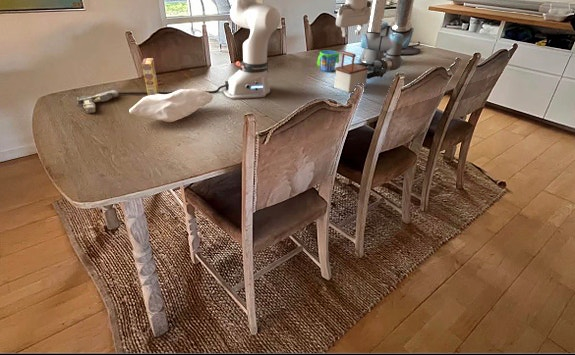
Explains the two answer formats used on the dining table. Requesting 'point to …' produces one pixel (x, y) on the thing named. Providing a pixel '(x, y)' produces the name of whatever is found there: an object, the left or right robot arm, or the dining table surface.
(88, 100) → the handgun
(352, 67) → the lid
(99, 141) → the dining table surface
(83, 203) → the dining table surface
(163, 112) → the crumpled cloth
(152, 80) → the candy box
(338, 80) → the chest
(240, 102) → the dining table surface
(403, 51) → the grey round tray
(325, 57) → the snack cup
